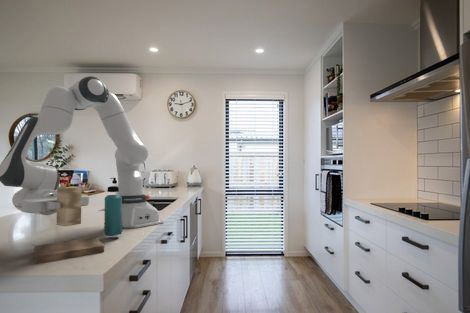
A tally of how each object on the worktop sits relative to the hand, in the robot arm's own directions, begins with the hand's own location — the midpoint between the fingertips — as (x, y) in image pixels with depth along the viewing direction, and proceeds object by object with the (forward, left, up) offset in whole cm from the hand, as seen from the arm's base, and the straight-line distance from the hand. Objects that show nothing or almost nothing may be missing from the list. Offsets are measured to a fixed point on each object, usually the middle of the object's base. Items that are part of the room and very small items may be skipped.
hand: (70, 204), depth 92 cm
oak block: (0, -1, -6) cm, 7 cm away
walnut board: (0, -1, -15) cm, 15 cm away
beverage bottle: (-16, -11, -16) cm, 25 cm away
